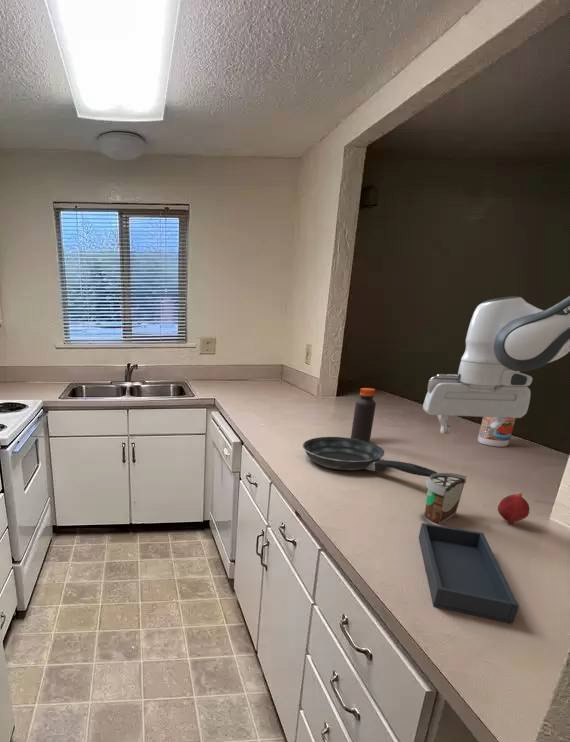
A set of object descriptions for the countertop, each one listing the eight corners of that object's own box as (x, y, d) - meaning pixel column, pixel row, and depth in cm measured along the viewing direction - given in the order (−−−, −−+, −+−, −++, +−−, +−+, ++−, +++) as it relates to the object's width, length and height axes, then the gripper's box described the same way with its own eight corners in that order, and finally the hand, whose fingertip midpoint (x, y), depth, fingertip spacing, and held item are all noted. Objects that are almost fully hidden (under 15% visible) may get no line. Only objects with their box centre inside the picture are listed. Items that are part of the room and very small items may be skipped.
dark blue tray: (479, 547, 94) (483, 532, 93) (513, 624, 72) (519, 605, 71) (418, 537, 99) (421, 522, 97) (433, 606, 77) (437, 588, 75)
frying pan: (285, 456, 150) (287, 438, 147) (337, 445, 160) (340, 427, 158) (400, 506, 113) (405, 483, 111) (458, 487, 124) (463, 465, 121)
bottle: (354, 444, 162) (362, 391, 155) (347, 438, 168) (354, 387, 161) (372, 444, 161) (381, 390, 154) (365, 438, 168) (373, 387, 161)
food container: (432, 503, 115) (440, 468, 111) (458, 511, 110) (467, 475, 107) (409, 516, 108) (417, 479, 104) (436, 526, 103) (445, 488, 100)
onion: (499, 526, 103) (508, 495, 100) (491, 515, 108) (499, 486, 105) (529, 529, 101) (538, 498, 98) (518, 518, 106) (527, 488, 104)
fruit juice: (487, 438, 166) (506, 364, 156) (514, 445, 158) (536, 367, 148) (471, 441, 163) (489, 366, 153) (497, 448, 155) (518, 369, 145)
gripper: (435, 376, 95) (423, 436, 100) (541, 378, 91) (523, 440, 96) (425, 371, 101) (413, 428, 106) (524, 373, 97) (507, 432, 102)
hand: (466, 434), depth 101 cm, fingers open, 8 cm apart
